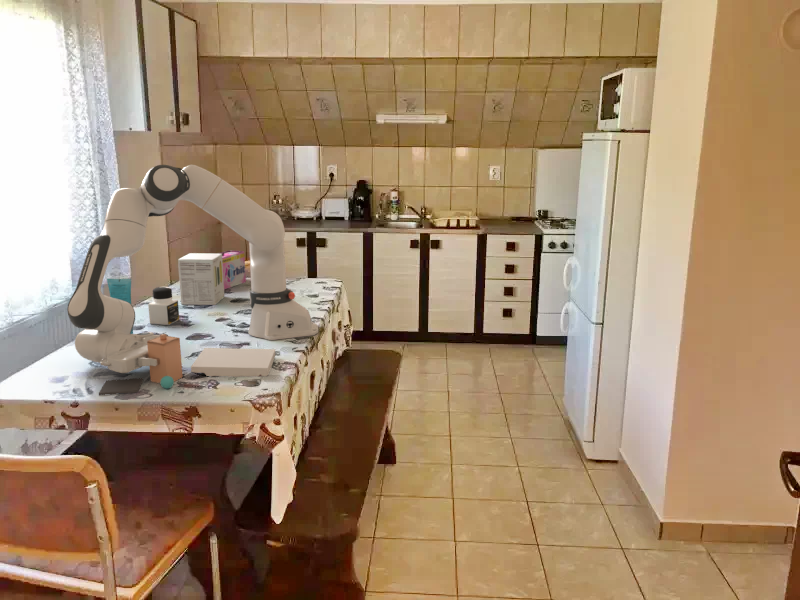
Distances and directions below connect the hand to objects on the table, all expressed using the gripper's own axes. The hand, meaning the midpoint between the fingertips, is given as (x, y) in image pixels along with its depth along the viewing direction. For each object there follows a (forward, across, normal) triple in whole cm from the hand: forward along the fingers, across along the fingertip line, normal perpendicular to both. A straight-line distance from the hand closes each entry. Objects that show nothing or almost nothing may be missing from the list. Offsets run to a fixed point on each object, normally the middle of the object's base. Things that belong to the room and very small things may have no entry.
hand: (167, 358), depth 171 cm
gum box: (-56, +94, +6) cm, 110 cm away
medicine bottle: (-40, +42, +6) cm, 58 cm away
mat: (-7, -9, +6) cm, 13 cm away
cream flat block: (+9, +15, +7) cm, 19 cm away
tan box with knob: (-1, 0, +6) cm, 6 cm away
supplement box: (-48, +71, +6) cm, 86 cm away
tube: (-38, +22, +6) cm, 45 cm away
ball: (+4, -5, +6) cm, 8 cm away
